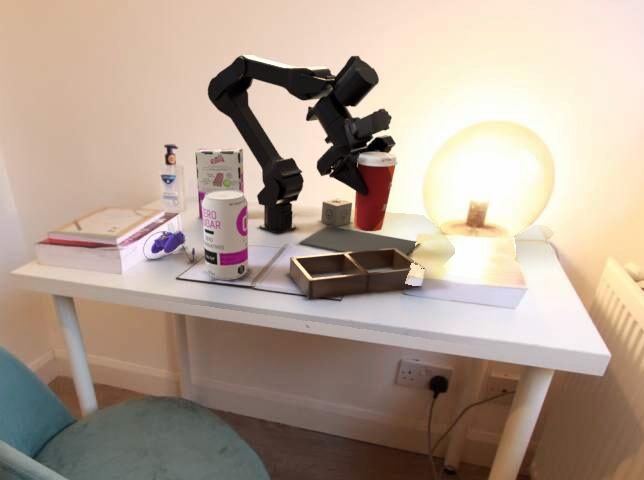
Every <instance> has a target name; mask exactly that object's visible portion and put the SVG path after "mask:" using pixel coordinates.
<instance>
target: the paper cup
mask: <svg viewBox="0 0 644 480" xmlns="http://www.w3.org/2000/svg"><path fill="white" fill-rule="evenodd" d="M396 165H398V161H397V156H396V154H394V153H390V152H389V153H385V152H364V153H361V154H360V155H359V157H358V161H357V167H358V169H359V171H360V173H361V175H362V177H363V179H364V181H365V183H366V186H367V188H368V190H369V194H368V195H367V196H363V195H362V194H360V193H358V192H357V191H355V198H354V199H355V200H354V218H353V226H354V227H353V228H355V229H356V230H357V231H361V232H379V231H381V230H382V229H383V226H384V221H385V216H386V212H387V208H388V203H389V199H390V194H391V188H392V186H391V184H392V185H393V178H394V176H395V175H394V174H395V170H396Z"/></svg>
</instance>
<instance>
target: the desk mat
mask: <svg viewBox="0 0 644 480" xmlns="http://www.w3.org/2000/svg"><path fill="white" fill-rule="evenodd" d="M416 242H417V241H416V240H409V239H405V238H399V237H393V236H387V235H380V234H375V233H372V232H371V233H369V232H366V231H360V230H353V229H348V228H341V227H338V226H336V227H334V226H332V225H326V226H325V227H324V228H322V229H319V230H318V231H317V232H315V233H313V234H312V235H310V236H308V237H307V238H305V239H303V240H301V241H300V242H299V245H303V246H306V247H313V248H317V249H323V250H327V251H332V252H335V253H343V252H354V251H365V250H375V249H386V248H397V249H398V250H399V251H401V252H402V253H404V254H405V255H407V256H408V255H409V254H410V253H411V252H412V251H413V250H415V248H416V247H415V243H416Z"/></svg>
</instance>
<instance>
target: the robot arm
mask: <svg viewBox="0 0 644 480" xmlns="http://www.w3.org/2000/svg"><path fill="white" fill-rule="evenodd" d="M254 80H256V81H259V82H263V83H267V84H270V85H274V86H277V87H281V88H283V89H284V90H286V91H287V92H288V94H289V95H291V96H293V97H295V98H296V99H298V100H300V101H303V102H304V101H313V100H317V102H316V103H315V104H314V105H309V106H308V107H307V113H306V116H305V121H306V122H313V121H318V123H319V124H320V126H321V128H322V130H323V131H324V133H325V135H326V137H325V138H324V140H323V141H324V142H325V143H326V144H327V145H328V144H332V145H331V146H329V148H328V149H327V150H326V151H325V152H324V153H323V154H322V155H321V156H320V157H319V158H318V160H317V161H316V170H317V172H318V173H319V175H320V177H324V176H328V177H329V178H330V179H331V178H333V179H335V180H336V181H338V182H340V183H342V184H343V185H346V186H347V187H349V188H351V189H352V190H354V191H355V192H356V191H357V192H358V193H360V194H362V195H363V196H367V195H368V194H369V190H368V188H367V186H366V183H365V181H364V179H363V177H362V175H361V173H360V171H359V169H358V167H357V165H358V163H357V161H358V157H359V155H360V154H361V153H364V152H385V153H390V152H391V151H392V148H394V147H395V146H396V141H395V140H394V138H393V136H392V135H387V134H384V135H380V136H376V137H374V136H373V135H375V134H377V133H378V134H379V133H381V132H383V131H387V130H389V129H390V124H391V121H392V117H393V116H392V115H390V114H389V111H387V110H386V109H385V108H379V109H378V110H376V111H372V113H369V114H368V115H365V116H363V117H358V116H357V117H356V116H355V117H353V115H352V114H351V112H350V110H349V109H348V108H349V107H351V108H356V107H357V106H358V105H359V104H361V102H362V101H363V100H364V99H365V97H367V96H368V95H369V93H371V91H373V90H374V89H375V87H377V85H378V84H379V83H380V82H379V81H380V78H379V74H378V72H377V71H376V70H375V68H374V67H372V66H371V65H370V64H368V63H367V62H366V61H365V60H362V59H361V57H360V55H351V56H349V58H348V59H347V61H346V62H345V65H344V66H343V67H342V68H341V69H340V71H338V73H337V74H332V71H331V69H329V68H328V67H326V66H293V65H288V64H286V63H281V62H276V61H274V60H270V59H266V58H265V59H264V58H261V57H257V56H256V55H254V54H250V55H248V54H247V55H239V56H237V57H236V58H235V59H234V60H233V61H232V63H231V64H229V65H228V66H227V67H225V68H224V69H222V70H221V71H219V72H218V73H217V74H216V75H215V76H214V77H213V78H211V80H209V83H208V86H207V96H208V99H209V101H210V102H211V104H212V105H213V106H214V107H215V108H216V109H217V111H219V112H220V113H222V114H223V115H224V116H226V117H228V118H229V119H230V120H231V122H232V123H233V124H234V126H235V128H236V129H237V130H238V132H239V134H240V136H241V137H242V139H243V141H244V142H245V144H246V146H247V147H248V149H249V150H250V152H251V153H252V155H253V157H254V158H255V160H256V161H257V163H258V165H259V166H260V168H261V171H262V172H261V173H262V174H261V175H262V176H261V177H262V178H261V179H262V183H263V186H264V187H263V188H262V189H261V190H260V191H259V192H258V193H257V195H256V198H257V202H258V205H260V206H263V207H264V209H263V210H264V212H263V215H264V216H263V217H264V219H263V224H259V228H260V229H262V230H264V231H268V232H271V233H273V234H280V233H284V232H288V231H292V230H294V229H297V226H296V225H294V224H293V214H294V213H293V212H294V211H293V202H297V201H298V198H299V196H300V194H301V192H302V191H303V189H304V182H305V180H304V177H303V175H302V173H303V170H301V169H300V168H299V166H298V164H297V162H296V160H295V159H294V158H293V157H289V158H284V157H282V156H281V155H280V153H279V151H278V150H277V148H276V147H275V145H274V144H273V143H272V141H271V139H270V138H269V136H268V134H267V133H266V131H265V130H264V128H263V126H262V125H261V123H260V121H259V120H258V118H257V117H256V115H255V114H254V111H253V110H252V108H251V107H250V105H249V92H248V90H249V89H250V88H251V87H252V85H253V82H254ZM391 187H393V183H392V184H391Z"/></svg>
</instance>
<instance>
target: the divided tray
mask: <svg viewBox="0 0 644 480" xmlns="http://www.w3.org/2000/svg"><path fill="white" fill-rule="evenodd" d="M414 261H415V260H414V259H412V258H411V257H409V255H408V254H407V255H405V254H404V253H402V252H401V251H399V250H398V249H397V248H386V249H375V250H365V251H354V252H343V253H341V252H335V253H334V252H333V253H323V254H322V253H321V254H313V255H301V256H291V257H289V276H290V278H291V279H292V280H293V281H294V283H295V284H296V285H297V286H298V288H299V289H300V290H301V291H302V293H303V294H304V295H305V297H306V298H307V299H308V300H314V299H322V298H332V297H340V296H341V297H342V296H350V295H358V294H367V293H369V294H370V293H377V292H386V291H395V290H405V289H414V288H420V287H419V286H412V285H408V284H405V281H406V278H407V275H408V273H409V271H410V270H411V268H410V265H411V263H414ZM414 264H415V265H418V264H419V263H418V262H417V261H415V263H414ZM419 265H420V266H422V265H421V264H419ZM387 267H392V268H393V269H391V270H380V271H379V270H378V271H370V272H369V271H368V270H366V269H377V268H387ZM421 269H422V268H421ZM423 269H425V270H426V267H424V268H423ZM337 272H338V273H339V272H342V273H343V274H342V275H332V276H331V275H330V276H321V277H314V278H313V277H312V276H311V275H317V274H318V275H319V274H325V273H326V274H327V273H337Z"/></svg>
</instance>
